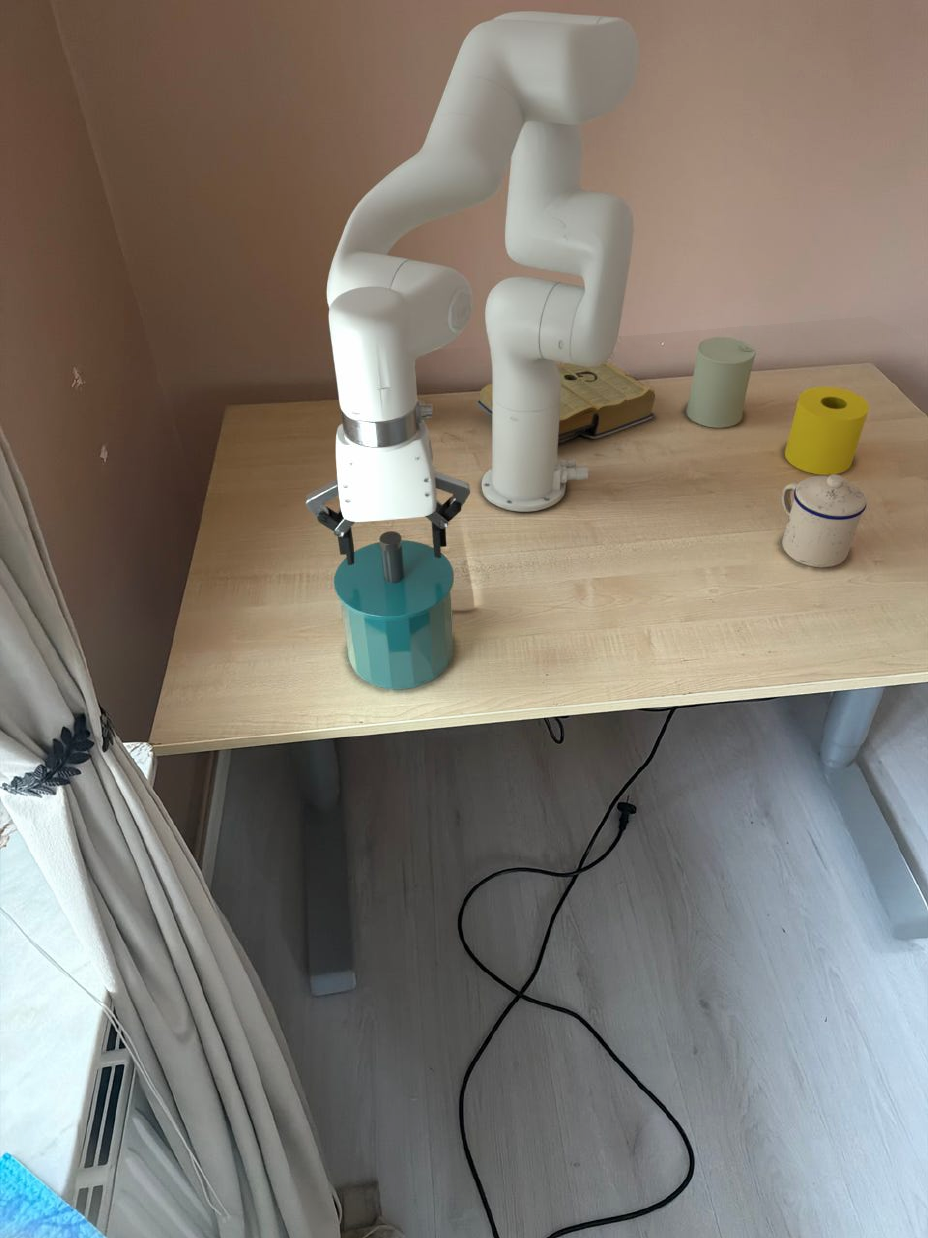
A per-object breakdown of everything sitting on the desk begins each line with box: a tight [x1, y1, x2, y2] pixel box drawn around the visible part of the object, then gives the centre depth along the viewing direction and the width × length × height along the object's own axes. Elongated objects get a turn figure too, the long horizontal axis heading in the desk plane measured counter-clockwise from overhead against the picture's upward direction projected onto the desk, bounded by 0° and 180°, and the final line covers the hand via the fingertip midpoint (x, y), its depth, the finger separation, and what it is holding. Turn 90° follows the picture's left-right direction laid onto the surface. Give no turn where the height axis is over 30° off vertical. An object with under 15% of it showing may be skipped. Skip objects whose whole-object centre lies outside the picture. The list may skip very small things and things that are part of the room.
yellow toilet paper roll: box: [784, 386, 870, 476], centre depth 137 cm, size 10×10×9 cm
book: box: [476, 360, 656, 444], centre depth 148 cm, size 25×17×6 cm
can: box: [685, 336, 756, 429], centre depth 147 cm, size 9×9×12 cm
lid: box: [333, 530, 455, 621], centre depth 100 cm, size 14×14×7 cm
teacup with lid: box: [781, 474, 868, 568], centre depth 120 cm, size 12×9×12 cm
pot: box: [340, 591, 454, 690], centre depth 106 cm, size 13×13×12 cm
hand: (394, 553), depth 100 cm, fingers open, 9 cm apart
